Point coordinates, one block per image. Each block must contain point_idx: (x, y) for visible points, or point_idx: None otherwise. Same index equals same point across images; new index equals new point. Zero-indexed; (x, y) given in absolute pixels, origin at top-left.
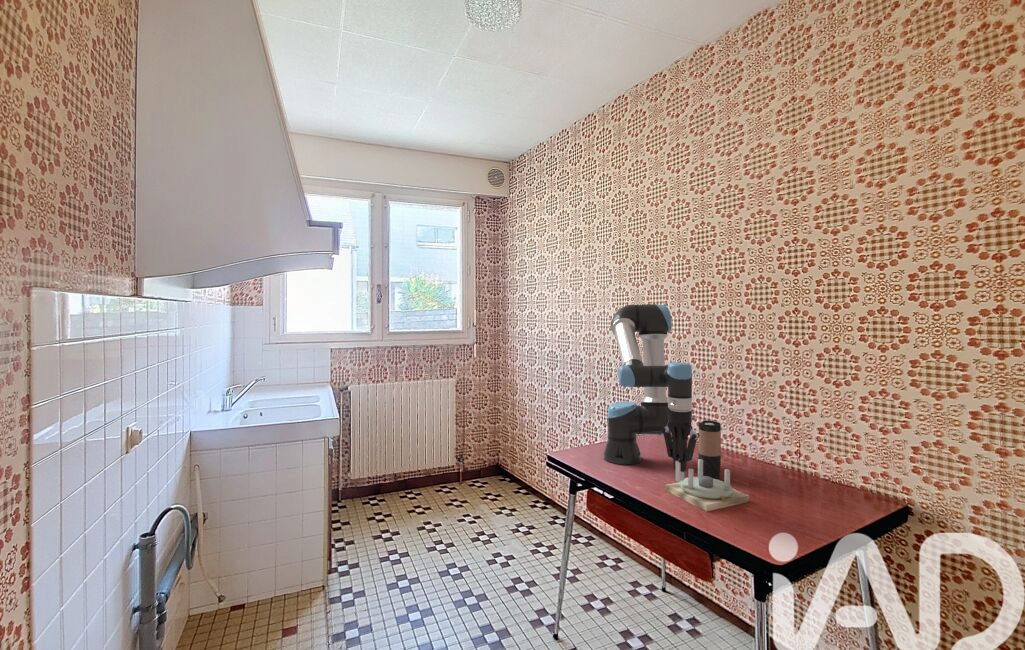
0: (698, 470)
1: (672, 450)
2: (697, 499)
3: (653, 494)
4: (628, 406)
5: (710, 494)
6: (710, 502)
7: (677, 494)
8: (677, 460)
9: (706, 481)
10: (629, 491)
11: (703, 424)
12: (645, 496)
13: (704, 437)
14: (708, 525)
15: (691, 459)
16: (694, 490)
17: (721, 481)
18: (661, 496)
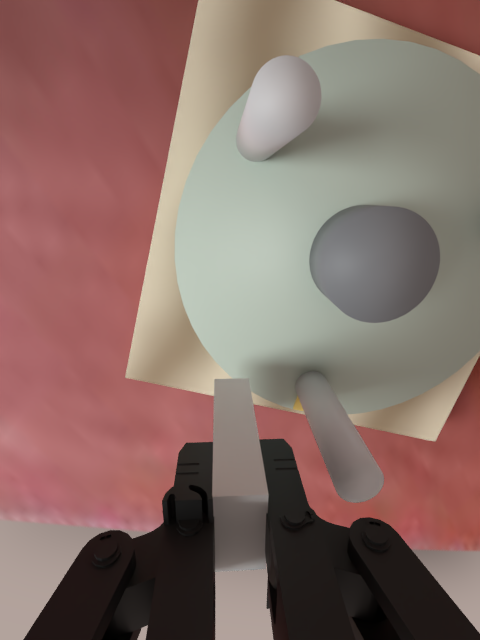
0: (255, 152)
1: (84, 630)
2: (372, 418)
3: (131, 447)
4: None
5: (440, 375)
6: (440, 401)
7: None
8: (214, 542)
9: (402, 311)
10: (33, 504)
11: None
12: (126, 492)
13: None
14: (468, 515)
15: (395, 542)
16: (342, 395)
17: (416, 58)
18: (174, 437)
